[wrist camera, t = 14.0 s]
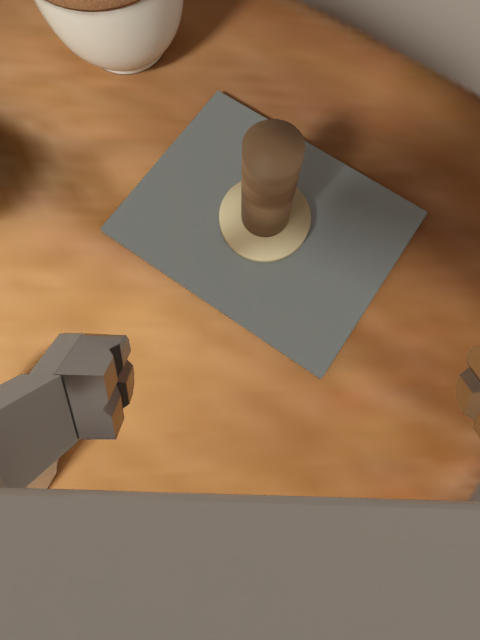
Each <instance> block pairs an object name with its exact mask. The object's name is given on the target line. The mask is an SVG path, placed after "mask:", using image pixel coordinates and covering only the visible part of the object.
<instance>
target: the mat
mask: <svg viewBox="0 0 480 640" xmlns="http://www.w3.org/2000/svg"><path fill="white" fill-rule="evenodd" d="M263 120H267V119H266V118H265V117H263V116H261V115H259V114H258V113H256V112H254V111H253V110H251V109H249V108H247V107H246V106H244V105H242V104H241V103H239V102H237V101H235V100H234V99H232V98H230V97H228V96H227V95H225V94H223V93H222V92H220V91H217V92H216V93H215V95H214V96H213V97H212V98H211V99H210V100H209V102H208V103H207V104H206V105H205V106H204V107H203V109H202V110H201V111H200V112H199V113H198V114H197V116H196V117H195V118H194V119H193V120H192V122H191V123H190V124H189V125H188V126H187V127H186V129H185V130H184V131H183V132H182V133H181V134H180V136H179V137H178V138H177V139H176V140H175V141H174V143H173V144H172V145H171V146H170V147H169V148H168V150H167V151H166V152H165V153H164V154H163V156H162V157H161V158H160V159H159V160H158V161H157V163H156V164H155V165H154V166H153V167H152V168H151V170H150V171H149V172H148V173H147V174H146V175H145V177H144V178H143V179H142V180H141V181H140V183H139V184H138V185H137V186H136V187H135V188H134V190H133V191H132V192H131V193H130V194H129V195H128V197H127V198H126V199H125V200H124V201H123V202H122V204H121V205H120V206H119V207H118V208H117V210H116V211H115V212H114V213H113V214H112V215H111V217H110V218H109V219H108V220H107V221H106V222H105V224H104V225H103V226H102V227H101V228H100V229H101V230H102V232H103V233H105V234H106V235H107V236H109V237H110V238H112V239H113V240H115V241H116V242H118V243H119V244H121V245H122V246H124V247H125V248H127V249H128V250H130V251H131V252H133V253H134V254H136V255H137V256H139V257H140V258H142V259H143V260H145V261H146V262H148V263H149V264H150V265H152V266H153V267H155V268H156V269H158V270H159V271H161V272H162V273H164V274H165V275H167V276H168V277H170V278H171V279H173V280H174V281H176V282H177V283H179V284H180V285H182V286H183V287H185V288H186V289H188V290H189V291H191V292H192V293H193V294H195V295H196V296H198V297H199V298H201V299H202V300H204V301H205V302H207V303H208V304H210V305H211V306H213V307H214V308H216V309H217V310H219V311H220V312H222V313H223V314H225V315H226V316H228V317H229V318H231V319H232V320H233V321H235V322H236V323H238V324H239V325H241V326H242V327H244V328H245V329H247V330H248V331H250V332H251V333H253V334H254V335H256V336H257V337H259V338H260V339H262V340H263V341H265V342H266V343H268V344H269V345H271V346H272V347H274V348H275V349H276V350H278V351H279V352H281V353H282V354H284V355H285V356H287V357H288V358H290V359H291V360H293V361H294V362H296V363H297V364H299V365H300V366H302V367H303V368H305V369H306V370H308V371H309V372H311V373H312V374H314V375H315V376H317V377H318V378H319V379H321V378H322V377H323V376H324V374H325V373H326V371H327V369H328V368H329V366H330V365H331V363H332V362H333V360H334V358H335V357H336V355H337V354H338V352H339V351H340V349H341V348H342V346H343V344H344V343H345V341H346V340H347V338H348V337H349V335H350V333H351V332H352V330H353V329H354V327H355V326H356V324H357V322H358V321H359V319H360V318H361V316H362V315H363V313H364V312H365V310H366V308H367V307H368V305H369V304H370V302H371V301H372V299H373V297H374V296H375V294H376V293H377V291H378V290H379V288H380V286H381V285H382V283H383V282H384V280H385V279H386V277H387V275H388V274H389V272H390V271H391V269H392V268H393V266H394V265H395V263H396V261H397V260H398V258H399V257H400V255H401V254H402V252H403V250H404V249H405V247H406V246H407V244H408V243H409V241H410V239H411V238H412V236H413V235H414V233H415V232H416V230H417V229H418V227H419V225H420V224H421V222H422V221H423V219H424V218H425V216H426V214H427V213H428V212H427V211H425V210H423V209H421V208H420V207H418V206H416V205H415V204H413V203H411V202H409V201H408V200H406V199H404V198H402V197H401V196H399V195H397V194H396V193H394V192H392V191H390V190H389V189H387V188H385V187H384V186H382V185H380V184H378V183H377V182H375V181H373V180H371V179H370V178H368V177H366V176H365V175H363V174H361V173H359V172H358V171H356V170H354V169H353V168H351V167H349V166H347V165H346V164H344V163H342V162H340V161H339V160H337V159H335V158H334V157H332V156H330V155H328V154H327V153H325V152H323V151H322V150H320V149H318V148H316V147H315V146H313V145H311V144H309V143H308V142H306V141H305V154H304V158H303V162H302V166H301V170H300V174H299V179H298V183H297V188H298V189H299V190H300V191H301V192H302V193H303V195H304V196H305V198H306V200H307V202H308V204H309V207H310V212H311V223H310V228H309V231H308V234H307V236H306V239H305V241H304V242H303V244H302V245H301V247H300V248H299V249H298V250H297V251H296V252H295V253H294V254H292V255H291V256H289V257H287V258H285V259H283V260H280V261H277V262H272V263H258V262H253V261H249V260H247V259H244V258H242V257H241V256H239V255H237V254H236V253H235V252H234V251H233V250H231V249H230V247H229V246H228V245H227V244H226V242H225V240H224V238H223V236H222V234H221V230H220V222H219V210H220V206H221V203H222V200H223V198H224V196H225V195H226V194H227V192H228V191H229V190H230V189H231V188H232V187H233V186H234V185H235V184H237V183H238V182H240V181H242V140H243V137H244V135H245V133H246V132H247V130H248V129H249V128H250V127H251V126H253V125H254V124H256V123H258V122H260V121H263Z"/></svg>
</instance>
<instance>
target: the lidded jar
mask: <svg viewBox="0 0 480 640" xmlns="http://www.w3.org/2000/svg"><path fill="white" fill-rule="evenodd" d="M183 1H184V0H34V2H35V4H36V5H37V7H38V9H39V10H40V12H41V14H42V15H43V17H44V18H45V20H46V21H47V23H48V24H49V26H50V27H51V29H52V30H53V31H54V33H55V34H56V35H57V37H58V38H59V39H60V40H61V41H62V42H63V43H64V44H65V45H66V46H67V47H68V48H69V49H70V50H71V51H72V52H73V53H75V54H76V55H77V56H79V57H80V58H82V59H83V60H85V61H86V62H88V63H90V64H92V65H95V66H97V67H100V68H103V69H104V70H106V71H108V72H111V73H114V74H120V75H130V74H136V73H139V72H142V71H145V70H147V69H149V68H150V67H152V66H153V65H154V64H155V63H156V62H157V61H158V60H159V59H160V58H161V56H162V54H163V53H164V52H165V50H166V49H167V48H168V47H169V45H170V44H171V42H172V40H173V39H174V37H175V35H176V33H177V30H178V27H179V24H180V20H181V16H182V10H183Z"/></svg>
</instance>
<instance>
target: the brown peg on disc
mask: <svg viewBox="0 0 480 640" xmlns="http://www.w3.org/2000/svg"><path fill="white" fill-rule="evenodd" d="M304 154H305V140H304V137H303V135H302V134H301V132H300V131H299V130H298V129H297V128H296V127H295V126H294V125H292V124H291V123H289V122H286V121H284V120H279V119H267V120H263V121H260V122H258V123H256V124H254V125H253V126H251V127H250V128H249V129H248V130H247V132H246V133H245V135H244V137H243V140H242V181H240V182H238V183H237V184H235V185H234V186H233V187H232V188H231V189H230V190H229V191H228V192H227V194H226V195H225V196H224V198H223V200H222V203H221V206H220V210H219V222H220V230H221V234H222V236H223V238H224V240H225V242H226V244H227V245H228V246H229V247H230V249H231V250H233V251H234V252H235V253H236V254H237V255H239V256H241V257H242V258H244V259H247V260H249V261H253V262H258V263H272V262H277V261H280V260H283V259H285V258H287V257H289V256H291V255H292V254H294V253H295V252H296V251H297V250H298V249H299V248H300V247H301V245H302V244H303V242H304V241H305V239H306V236H307V234H308V231H309V228H310V223H311V212H310V207H309V204H308V202H307V200H306V198H305V196H304V195H303V193H302V192H301V191H300V190H299V189H298V188H297V183H298V179H299V174H300V170H301V166H302V162H303V158H304Z"/></svg>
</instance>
